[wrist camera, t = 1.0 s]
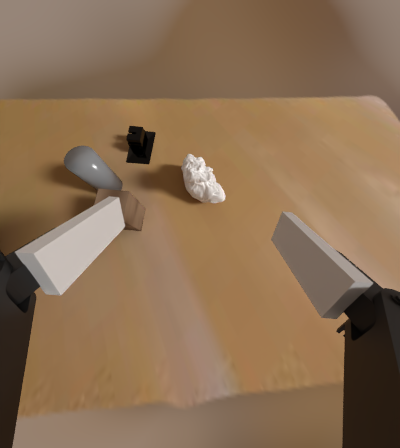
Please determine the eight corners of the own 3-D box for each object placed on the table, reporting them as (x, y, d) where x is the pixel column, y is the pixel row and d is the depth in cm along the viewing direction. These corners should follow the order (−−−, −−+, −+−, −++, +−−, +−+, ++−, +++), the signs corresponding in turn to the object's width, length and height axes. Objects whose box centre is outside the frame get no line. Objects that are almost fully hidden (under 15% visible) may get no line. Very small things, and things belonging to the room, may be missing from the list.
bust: (184, 177, 36) (150, 171, 26) (203, 151, 33) (173, 132, 23) (216, 213, 34) (193, 220, 24) (240, 188, 31) (225, 186, 21)
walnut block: (117, 228, 30) (90, 217, 22) (122, 206, 31) (98, 188, 24) (141, 231, 30) (122, 220, 23) (145, 208, 32) (129, 191, 24)
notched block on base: (132, 127, 37) (124, 109, 33) (161, 129, 37) (156, 112, 33) (122, 169, 34) (111, 156, 30) (153, 172, 34) (146, 159, 30)
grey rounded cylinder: (96, 195, 32) (59, 170, 23) (102, 175, 33) (69, 144, 24) (119, 197, 32) (91, 173, 23) (124, 177, 33) (99, 147, 24)
